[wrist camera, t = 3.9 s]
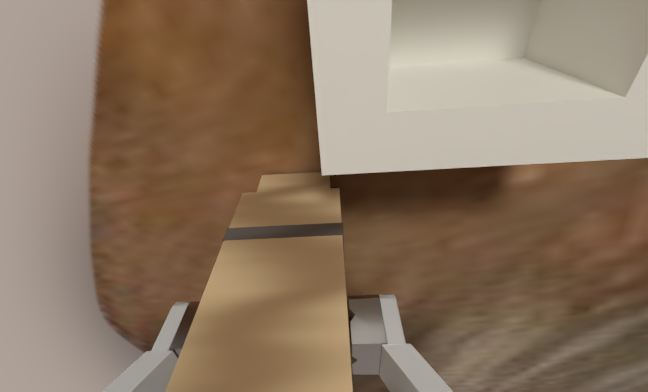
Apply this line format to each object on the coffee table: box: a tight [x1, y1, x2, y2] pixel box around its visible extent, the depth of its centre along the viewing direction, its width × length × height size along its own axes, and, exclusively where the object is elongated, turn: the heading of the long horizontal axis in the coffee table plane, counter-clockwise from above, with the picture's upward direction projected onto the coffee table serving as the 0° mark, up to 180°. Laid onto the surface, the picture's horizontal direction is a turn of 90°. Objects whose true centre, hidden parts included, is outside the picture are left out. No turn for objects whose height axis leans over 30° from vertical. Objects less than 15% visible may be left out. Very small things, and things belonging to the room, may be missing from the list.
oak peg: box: [165, 172, 353, 392], centre depth 10 cm, size 4×4×12 cm
